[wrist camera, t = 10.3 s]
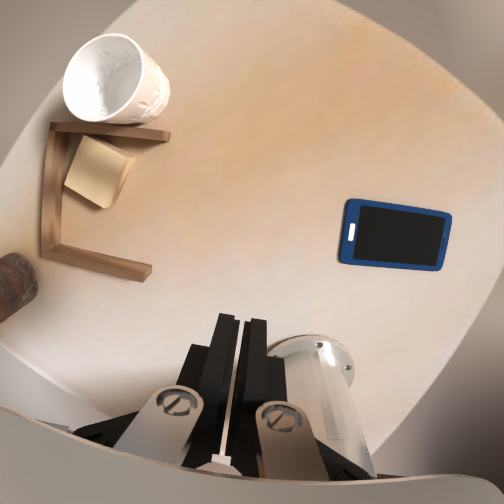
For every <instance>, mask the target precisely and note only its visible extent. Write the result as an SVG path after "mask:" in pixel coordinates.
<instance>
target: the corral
mask: <svg viewBox="0 0 504 504" xmlns="http://www.w3.org/2000/svg"><path fill="white" fill-rule="evenodd" d="M69 132H78V133H92V134H104V135H115V136H125V137H134V138H143V139H152V140H160V141H167V142H169V138H170V132H166V131H161V130H152V129H143V128H134V127H123V126H111V125H98V124H82V123H60V122H51V123H50V130H49V137H48V144H47V152H46V160H45V170H44V182H43V196H42V221H41V257H44V258H48V259H51V260H55V261H59V262H62V263H66V264H70V265H74V266H77V267H81V268H85V269H89V270H93V271H97V272H101V273H105V274H109V275H113V276H117V277H121V278H125V279H129V280H133V281H138V282H142V283H143V282H144V281H145V279H146V278H147V277H148V276H149V275H150V274H151V269H152V265H149V264H144V263H140V262H135V261H131V260H126V259H122V258H118V257H113V256H109V255H105V254H100V253H96V252H92V251H87V250H83V249H79V248H75V247H71V246H67V245H62V244H60V232H61V208H62V193H63V181H64V171H65V162H66V154H67V146H68V139H69Z"/></svg>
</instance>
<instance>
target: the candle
mask: <svg viewBox="0 0 504 504" xmlns="http://www.w3.org/2000/svg"><path fill="white" fill-rule="evenodd" d="M37 290H38V286H37V280H36V276H35V272H34V269H33V267H32V266H31V264H30V263H29V262H28V261H27V260H26V259H25V258H24V256H22V255H20V254H18V253H15V252H14V253H11V254H9V255H6V256H4V257H2V258H0V323H2V322H3V321H4V320H6V319H7V318H8V317H10V316H11V315H12V314H14V313H15V312H17V311H18V310H19V309H21V308H22V307H23V306H25V305H26V304H28V303H29V302H30V301H32V300H33V299H34V298H35V296H36V294H37Z"/></svg>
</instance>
